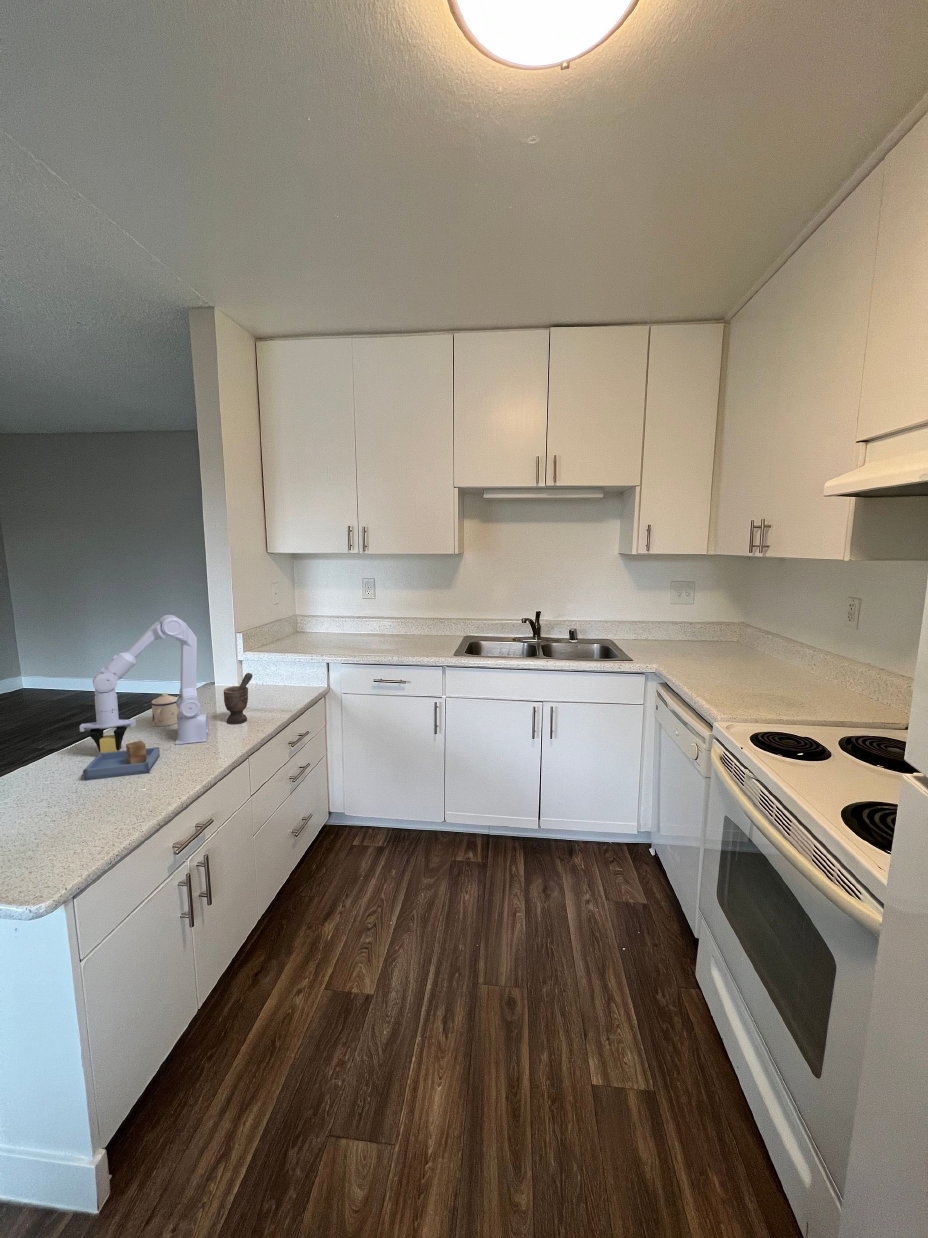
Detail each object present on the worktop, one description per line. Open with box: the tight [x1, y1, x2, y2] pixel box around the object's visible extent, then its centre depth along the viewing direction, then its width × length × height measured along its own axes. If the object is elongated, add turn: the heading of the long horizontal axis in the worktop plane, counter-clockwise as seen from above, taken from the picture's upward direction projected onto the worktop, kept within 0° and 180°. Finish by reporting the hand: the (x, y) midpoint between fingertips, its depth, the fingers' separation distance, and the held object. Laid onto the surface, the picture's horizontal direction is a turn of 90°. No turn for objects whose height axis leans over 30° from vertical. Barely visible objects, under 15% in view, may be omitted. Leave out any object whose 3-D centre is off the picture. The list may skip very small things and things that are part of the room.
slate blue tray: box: [82, 746, 161, 782], centre depth 146 cm, size 16×13×3 cm
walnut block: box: [125, 740, 147, 764], centre depth 147 cm, size 4×4×6 cm
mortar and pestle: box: [223, 672, 253, 725], centre depth 187 cm, size 12×9×20 cm
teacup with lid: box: [150, 692, 180, 727], centre depth 183 cm, size 12×9×12 cm
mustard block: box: [99, 734, 121, 753], centre depth 155 cm, size 4×4×6 cm
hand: (110, 750), depth 155 cm, fingers closed on mustard block, 4 cm apart
